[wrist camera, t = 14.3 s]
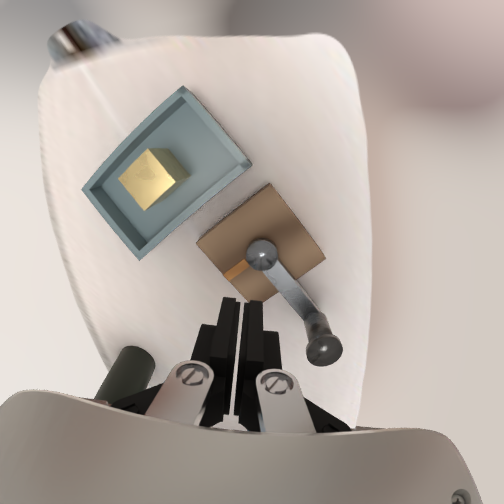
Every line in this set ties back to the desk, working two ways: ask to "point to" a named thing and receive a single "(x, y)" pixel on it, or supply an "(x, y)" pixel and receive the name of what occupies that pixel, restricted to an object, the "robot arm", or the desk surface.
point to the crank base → (259, 226)
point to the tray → (186, 152)
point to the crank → (296, 302)
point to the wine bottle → (127, 375)
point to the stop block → (153, 177)
